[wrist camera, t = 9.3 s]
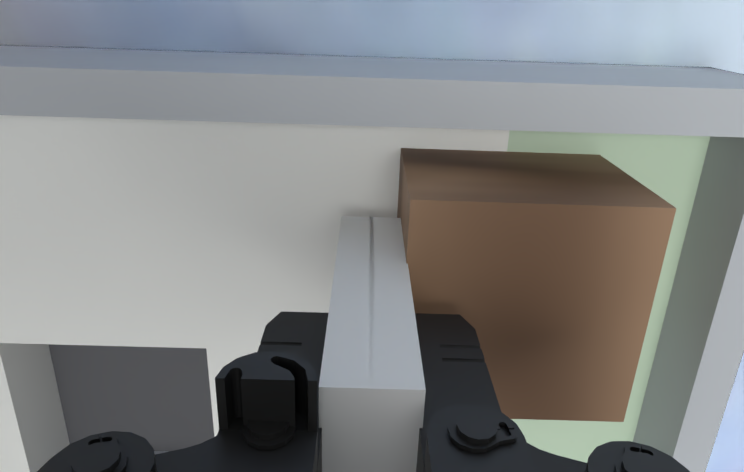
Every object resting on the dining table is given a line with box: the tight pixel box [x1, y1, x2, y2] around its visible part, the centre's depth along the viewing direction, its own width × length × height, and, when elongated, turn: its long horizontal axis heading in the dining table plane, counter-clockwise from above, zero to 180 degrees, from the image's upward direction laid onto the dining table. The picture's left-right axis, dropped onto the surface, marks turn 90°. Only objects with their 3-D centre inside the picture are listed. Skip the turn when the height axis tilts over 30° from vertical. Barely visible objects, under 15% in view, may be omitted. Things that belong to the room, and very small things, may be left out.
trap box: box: [0, 45, 744, 472], centre depth 17 cm, size 30×15×4 cm, turn 88°
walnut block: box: [397, 148, 676, 422], centre depth 14 cm, size 5×5×4 cm
